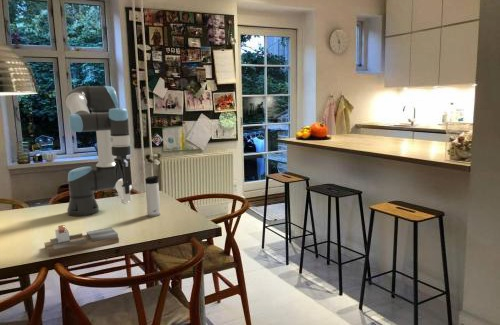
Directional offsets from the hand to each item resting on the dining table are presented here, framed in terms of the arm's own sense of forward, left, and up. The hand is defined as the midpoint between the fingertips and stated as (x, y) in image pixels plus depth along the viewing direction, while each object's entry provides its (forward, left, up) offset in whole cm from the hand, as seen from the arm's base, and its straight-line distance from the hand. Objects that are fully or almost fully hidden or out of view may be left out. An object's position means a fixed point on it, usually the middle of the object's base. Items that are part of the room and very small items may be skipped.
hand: (124, 199), depth 175 cm
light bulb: (0, 0, -2) cm, 2 cm away
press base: (+1, -19, -16) cm, 24 cm away
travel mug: (-22, +20, -16) cm, 34 cm away
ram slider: (+1, -26, -14) cm, 29 cm away
